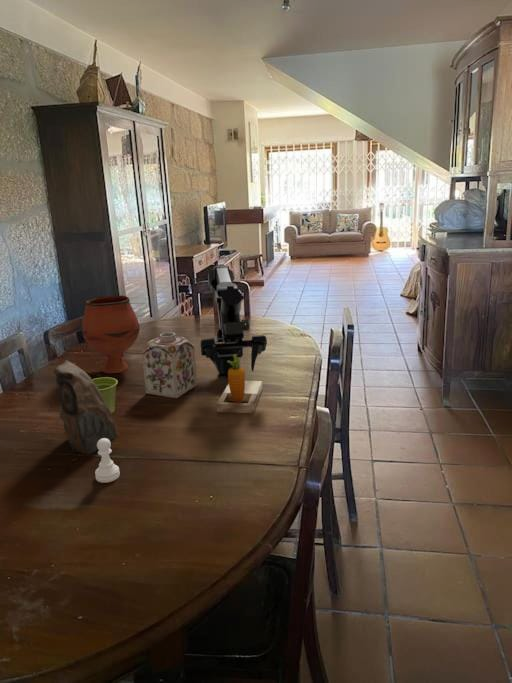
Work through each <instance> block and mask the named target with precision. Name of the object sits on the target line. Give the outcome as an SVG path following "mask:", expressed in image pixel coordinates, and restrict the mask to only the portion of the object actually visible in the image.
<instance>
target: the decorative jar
mask: <svg viewBox="0 0 512 683" xmlns="http://www.w3.org/2000/svg"><path fill="white" fill-rule="evenodd" d="M195 354H196V353H195V345H194V344H193V343H192V342H191V341H190V340H188V339H187V338H186V337H184V336H176V333H175V332H173V331H170V332H169V331H168V332H163V333H160V334H159V337H156V338H153V339H151V340H149V341H148V342H147V344H146V346H145V347H144V349H143V350H142V354H141V355H142V365H143V366H142V367H143V376H144V377H143V378H144V385H145V394H147V395H154V396H160V397H166V398H171V399H178V398H180V397H181V396H182V395H184V394H187V392H189V391H190V390H192V389H194V388H195V387H197V385H198V384H197V368H196V365H197V364H196V355H195Z"/></svg>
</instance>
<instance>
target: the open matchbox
mask: <svg viewBox="0 0 512 683" xmlns="http://www.w3.org/2000/svg"><path fill="white" fill-rule="evenodd" d="M262 392H263V381H262V380H245V390H244V396H243V400H242V402H241V403H235V402H234V400H233V398H232V395H231V392H230V388H229V382H228V383H227V385H226V387H225V389H223V392H222V394H221V396H220V398H219V399H218V401H217V403H216V410H217V413H234V414H235V413H236V414H237V413H238V414H254V413H255V410H256V406H257V404H258V402H259V399H260V396H261V394H262ZM245 402H247V403H245Z"/></svg>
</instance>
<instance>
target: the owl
mask: <svg viewBox="0 0 512 683" xmlns="http://www.w3.org/2000/svg"><path fill="white" fill-rule="evenodd" d="M53 373H54V374H55V377H56V378H55V383H56V385H57V386H58V391H59V395H58V397H59V398H58V399H59V404H60V412H59V419H61V421H62V422H63V428H64V430H65V433H66V434H67V438H68V439H67V444H69V445H68V447H69V448H71V450H70V451H71V452H74V453H76V454H80V453H81V454H83V455H86V456H89V455H91V454H94V453H95V452H96V451H97V450H99V449H98V448H97V442H98V441H99V440H100V439H102V438H107V439H109V441H110V442H111V441H113V440H114V439H115V438H116V437H117V436H119V435H120V434H119V432H118V426H117V425H116V422H115V420H114V417H113V415H112V414H113V413H112V414H111V411H110V409H109V407H108V406H107V405H106V403H105V401H104V399H103V397H102V395H101V393H100V391H99V389H98V387H97V386H96V384H95V383H94V381H93V380H92V377H91V376H90V375H88V373H86V371H85V370H83V369H81V368H80V367H79V366H77V365H76V364H74V363H72V362H70V361H69V360H67V359H65V360H64V361H63V363H62V364H59V365H57V366H56V367H55V369H54V371H53Z"/></svg>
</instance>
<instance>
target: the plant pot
mask: <svg viewBox="0 0 512 683" xmlns="http://www.w3.org/2000/svg"><path fill="white" fill-rule="evenodd" d="M91 379H92V378H91ZM92 380H93V381H94V383H95V384H96V386H97V387H98V389H99V391H100V393H101V395H102V397H103V399H104V401H105V403H106V405H107V406H108V407H109V409H110V411H111V414H113V413H114V412H115V407H116V404H115V402H116V389H117V385H118V382H119V381H118V379H116V378H114V377H108V376H105V377H97V378H93V379H92Z"/></svg>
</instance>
